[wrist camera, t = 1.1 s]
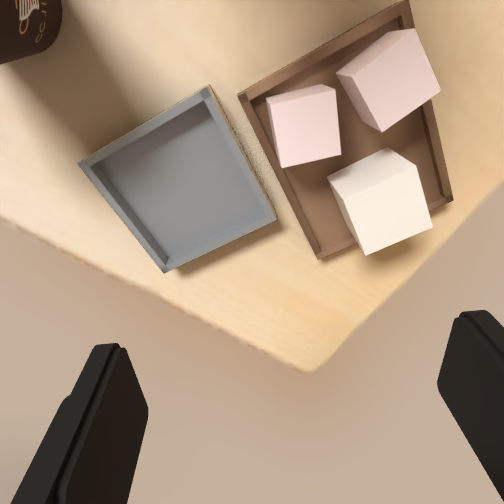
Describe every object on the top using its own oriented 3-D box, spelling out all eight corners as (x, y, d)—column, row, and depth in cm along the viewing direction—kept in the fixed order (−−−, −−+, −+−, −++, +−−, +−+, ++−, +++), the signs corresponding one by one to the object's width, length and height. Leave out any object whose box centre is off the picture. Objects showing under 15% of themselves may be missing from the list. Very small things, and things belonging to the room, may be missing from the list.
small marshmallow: (321, 83, 24) (335, 89, 21) (327, 140, 26) (341, 154, 23) (265, 97, 24) (270, 105, 21) (275, 153, 26) (281, 168, 23)
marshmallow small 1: (387, 31, 23) (414, 28, 19) (412, 85, 24) (441, 90, 21) (335, 73, 24) (351, 76, 20) (362, 121, 25) (382, 132, 22)
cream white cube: (387, 147, 26) (416, 165, 22) (403, 200, 29) (432, 227, 24) (326, 176, 28) (343, 199, 23) (347, 226, 30) (365, 255, 25)
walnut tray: (397, 2, 23) (408, -2, 21) (442, 193, 30) (453, 200, 28) (237, 94, 25) (237, 96, 24) (314, 250, 32) (317, 259, 31)
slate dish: (209, 84, 25) (206, 87, 23) (274, 209, 30) (276, 219, 28) (88, 155, 27) (77, 163, 25) (168, 260, 32) (163, 273, 30)
